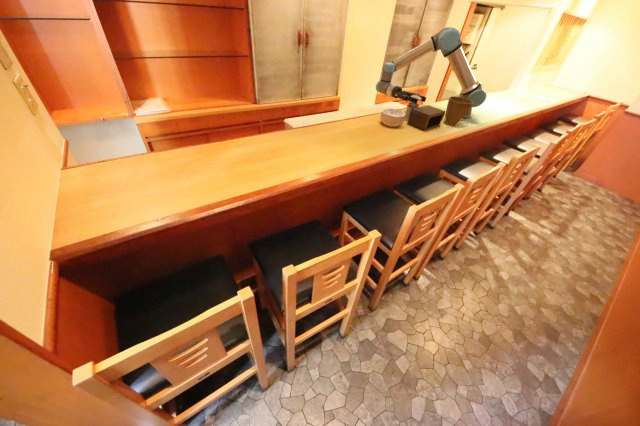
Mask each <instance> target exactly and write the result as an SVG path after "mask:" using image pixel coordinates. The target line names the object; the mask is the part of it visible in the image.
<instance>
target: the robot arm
mask: <svg viewBox="0 0 640 426" xmlns="http://www.w3.org/2000/svg"><path fill="white" fill-rule="evenodd" d="M463 44H464V43H463V41H462V38H461V32H460V31H459V30H458V29H457V28H456V27H451V26H450V27H444V28H442V29H440V31H439V30H438V32H437V33H435V34H433V35H432V36H430V37H429V38H428V40H427V41H424V42H422V43H421V44H419V45H417V46H416V47H414V48H412V49H410V50H408V51H407V52H405V53H403V54H402V55H400V56H398V57H397V58H395V59H393V60H391V61H390V62H385V63H384V64H383V67H382V73H381V77H380V80H378V81H377V83H376V85H375V90H376V92H378V93H380V94H383V95H386V96H389V98H393V99H400V100H402V101H405V102H406V103H407V102H409V103H410V102H413V103H416V104H418V101H421V102H423V103H426V100H427V97H425V96H424V95H420V93H419V92H418V93H417V92H412V91H409V90H403V87H401V86H399V85H396V84H393V83H392V80H393V75H394V73H396V72H397V71H399V70H401V69H403V68H404V67H407V66H408V65H411V64H412V63H413V62H415V61H417V60H419V59H421V58H424V57H425V56H426V55H428V54H430V53H435V52H437V51H440V52H441V54H442V56H443V58H445V59H447V61H448V62H449V64H450V67H451V68H452V70H453V73H454V75H455V77H456V80H458V83H459V85H460V86H461V90H460V91H459V92H460V93H459V95H458V97H461V98H465V99H468V100H471V101H472V102H473V104H472V105H471V107H470V108H469V110H468V111H467V112H466V114H465V115H464V116H463V118H464V119H468V118H470V117H471V115H472V111H473V108H477V107H480V106H481V105H482V104H484V102H485V101H486V99H487V92H486V90H485V89H483V83H481V82H480V81H479V80H476V77H475V75H474V73H473V70H472V68H471V66H470V64H469V61H468V59H467V58H466V55H465V53H464V51H463ZM412 95H418V96H420V97H421V98H422V99H421V100H418V99H416V98H413V97H410V96H412ZM463 118H462V119H463Z"/></svg>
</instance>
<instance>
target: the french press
mask: <svg viewBox="0 0 640 426" xmlns="http://www.w3.org/2000/svg"><path fill="white" fill-rule="evenodd" d="M419 82H420V83H419V86H418V89H417V92H416V94H418V93H419V89H420V87H421V84H422V83H423V82H424V80H423V79H419ZM420 96H421V95H420ZM420 96H418V95H412V96H410V97H413V98H416V99H418V101H420V100H421V99H422V98H421V97H420ZM418 107H420V104H419V103H417V104H416V103H413V102H410V101H409V102H408V103H407V105H406V108H405V111H404V113H405V119H404V121H408V120H409V117H410V114H411V111H412V109H414V108H418Z"/></svg>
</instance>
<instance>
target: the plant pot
mask: <svg viewBox="0 0 640 426" xmlns="http://www.w3.org/2000/svg"><path fill="white" fill-rule="evenodd" d="M472 104H473V102H472V101H471V100H468V99H465V98H461V97H459V96H454V95H453V96H449V98H448V101H447V106H446V109H445V115H444V116H445V118H444V123H445V124H446V125H448V126H457V124H459V122H460V121H461V120H462V119H463V116H464V115H465V114H466V112H467V111H468V110H469V108H470V107H471V105H472Z"/></svg>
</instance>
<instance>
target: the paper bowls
mask: <svg viewBox="0 0 640 426" xmlns="http://www.w3.org/2000/svg"><path fill="white" fill-rule="evenodd" d="M379 119H380V120H381V121H382V124H383V125H385V126H387V127H391V128H395V127H396V128H397V127H398V126H400V125H401V124H403V123H404V122H405V111H403V110H401V109H396V108H391V107H390V108H388V107H387V108H383V109H381V112H380V117H379Z"/></svg>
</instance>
